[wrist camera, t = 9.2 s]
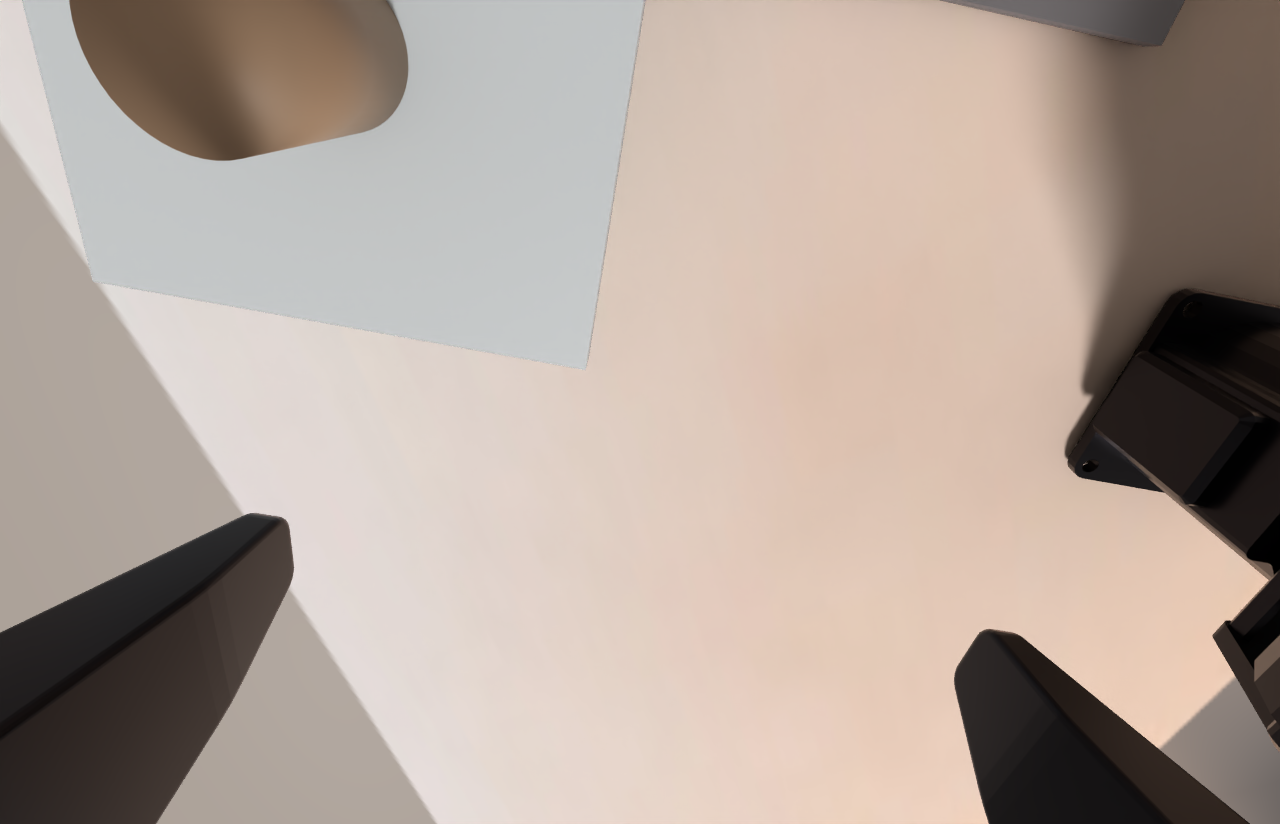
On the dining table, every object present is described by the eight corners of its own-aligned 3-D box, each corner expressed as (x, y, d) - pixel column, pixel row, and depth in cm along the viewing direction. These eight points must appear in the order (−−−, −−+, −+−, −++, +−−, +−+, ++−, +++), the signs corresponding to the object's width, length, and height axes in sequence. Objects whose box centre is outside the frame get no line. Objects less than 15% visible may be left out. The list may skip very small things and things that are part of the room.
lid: (688, -271, 10) (709, -524, 6) (589, 356, 15) (561, 467, 11) (-46, -454, 9) (-649, -900, 5) (120, 271, 14) (-103, 355, 10)
